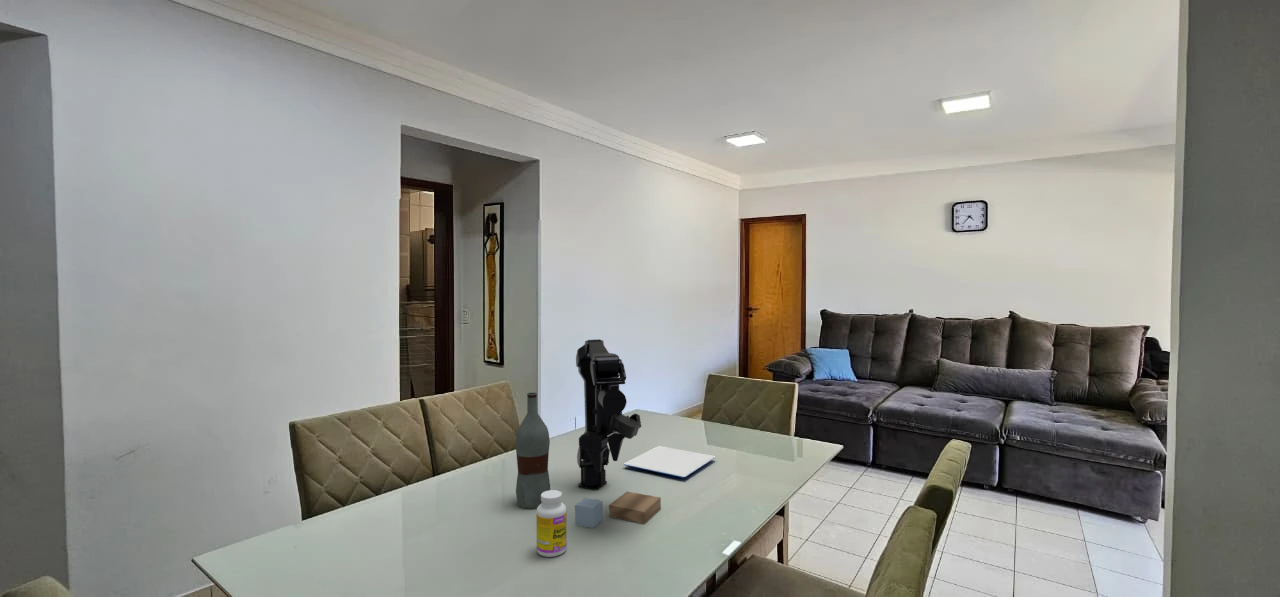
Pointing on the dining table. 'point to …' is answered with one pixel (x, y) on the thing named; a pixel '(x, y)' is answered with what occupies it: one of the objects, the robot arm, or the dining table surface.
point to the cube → (588, 512)
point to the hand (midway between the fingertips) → (607, 466)
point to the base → (635, 507)
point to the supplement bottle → (551, 524)
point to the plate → (670, 461)
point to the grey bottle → (532, 457)
